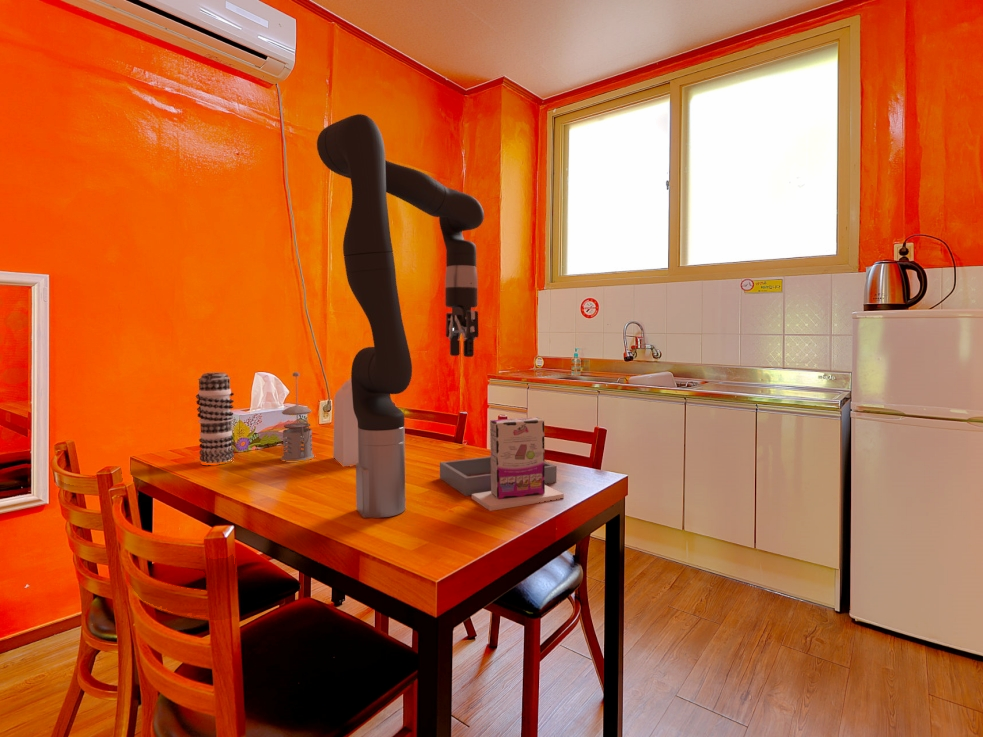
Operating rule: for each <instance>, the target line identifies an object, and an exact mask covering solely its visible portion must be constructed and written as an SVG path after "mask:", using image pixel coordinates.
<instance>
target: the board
mask: <svg viewBox="0 0 983 737" xmlns="http://www.w3.org/2000/svg"><path fill="white" fill-rule="evenodd" d="M560 498H563V499H564V498H565V495H564V493H562V492H561V491H559V490H556V489H554V488H552V487H550V486H548V485H547V484H545V494H540V495H531V496H523V497H514V498H505V499H497V498H496V497H495V496H494V495H493V494H492V493H491V491H488V492H481V493H475V494H472V495H471V499H472V500H473V501H475V503H476V502H477V503H478V504H479V505H480V506H482V507H483V508H485V509H486V510H488V511H489V512H491V511H497V510H504V509H509V508H516V507H521V506H527V505H533V504H538V503H539V502H540V503H544V501H546V502H551V501H550V500H552V501H556V499H557V500H561V499H560ZM540 503H539V504H540Z"/></svg>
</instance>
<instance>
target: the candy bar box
mask: <svg viewBox="0 0 983 737" xmlns="http://www.w3.org/2000/svg"><path fill="white" fill-rule="evenodd" d="M489 425H490V426H489V428H490V429H489V430H490V431H489V432H490V435H489V436H490V437H489V438H490V439H489V440H490V442H489V443H490V456H491V473H490V474H491V493H492V494H493V495H494V496H495V497H496V498H497V499H505V498H514V497H523V496H531V495H540V494H545V485H546V484H545V466H544V464H545V462H546V461H545V420H544V419H542V418H539V417H521V418H505V419H491V420H490V421H489Z"/></svg>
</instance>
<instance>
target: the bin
mask: <svg viewBox="0 0 983 737" xmlns="http://www.w3.org/2000/svg"><path fill="white" fill-rule="evenodd" d="M544 466H545V485H548V484H547V483H549V484H554V483H553V482H556V483H557V473H558V472H557V465H556V464H553V463H550V462H548V461H545V464H544ZM439 479H440V480H442V481H443V482H444V483H447V485H449V486H451V487H452V488H453V489H455V490H456V491H458V492H460V494H462V495H464V496H465V497H470V496H472V494H475V493H481V492H488V491H491V455H489V456H484V457H475V458H474V457H473V458H466V459H465V458H464V459H459V460H458V459H457V460H450V461H449V460H447V461H442V462H439Z"/></svg>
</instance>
